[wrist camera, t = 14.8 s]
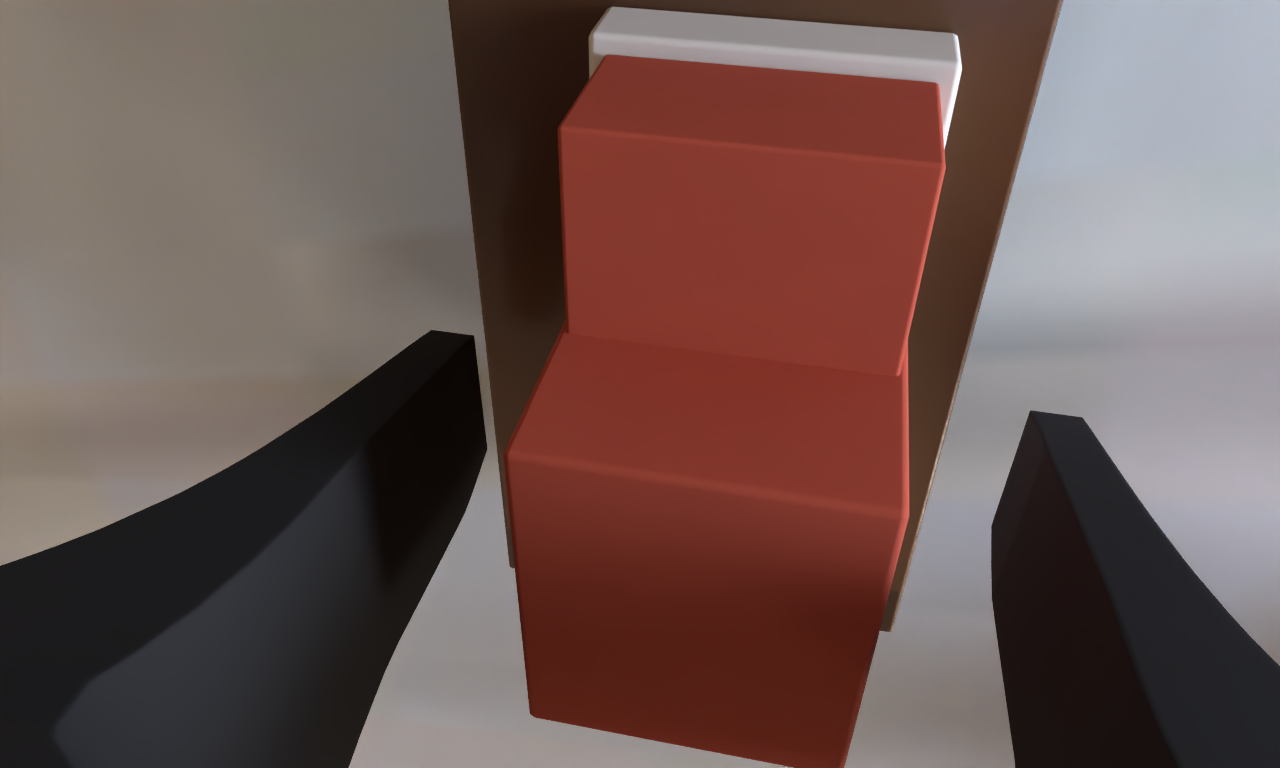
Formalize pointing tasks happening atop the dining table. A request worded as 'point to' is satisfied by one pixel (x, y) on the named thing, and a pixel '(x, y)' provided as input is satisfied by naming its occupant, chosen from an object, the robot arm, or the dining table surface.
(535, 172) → the brown flanged block
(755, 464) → the stepped red block
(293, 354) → the dining table surface
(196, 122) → the dining table surface
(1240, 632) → the robot arm
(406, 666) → the dining table surface
